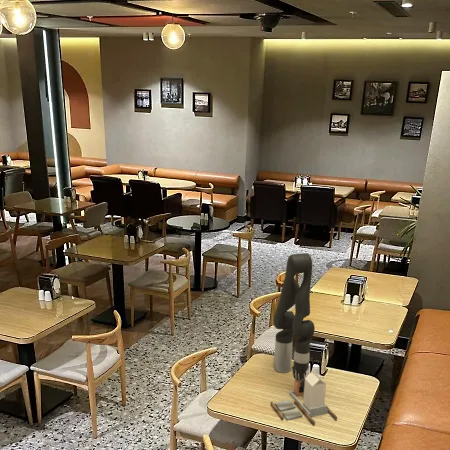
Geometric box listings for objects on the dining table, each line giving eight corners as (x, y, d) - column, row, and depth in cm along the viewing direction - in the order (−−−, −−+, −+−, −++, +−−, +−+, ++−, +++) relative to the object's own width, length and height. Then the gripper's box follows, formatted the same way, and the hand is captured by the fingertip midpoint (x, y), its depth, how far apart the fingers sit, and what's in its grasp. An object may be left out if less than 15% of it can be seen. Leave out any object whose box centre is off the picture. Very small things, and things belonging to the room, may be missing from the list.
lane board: (270, 405, 230) (270, 402, 229) (314, 395, 238) (314, 392, 238) (290, 431, 212) (290, 427, 211) (336, 420, 220) (337, 416, 219)
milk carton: (310, 415, 223) (313, 378, 219) (302, 406, 230) (305, 370, 225) (323, 412, 226) (326, 376, 221) (315, 403, 232) (318, 368, 227)
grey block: (288, 394, 239) (289, 381, 237) (306, 390, 243) (307, 378, 241) (308, 417, 221) (309, 404, 220) (327, 413, 225) (328, 399, 223)
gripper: (287, 353, 240) (286, 384, 244) (301, 367, 227) (299, 399, 231) (301, 351, 243) (299, 381, 247) (315, 364, 230) (313, 396, 234)
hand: (299, 390), depth 239 cm, fingers closed on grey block, 3 cm apart
